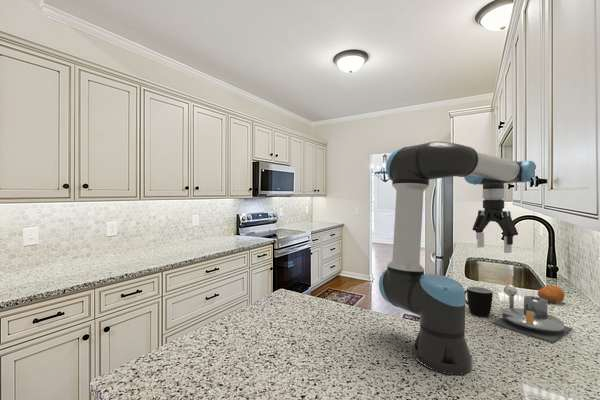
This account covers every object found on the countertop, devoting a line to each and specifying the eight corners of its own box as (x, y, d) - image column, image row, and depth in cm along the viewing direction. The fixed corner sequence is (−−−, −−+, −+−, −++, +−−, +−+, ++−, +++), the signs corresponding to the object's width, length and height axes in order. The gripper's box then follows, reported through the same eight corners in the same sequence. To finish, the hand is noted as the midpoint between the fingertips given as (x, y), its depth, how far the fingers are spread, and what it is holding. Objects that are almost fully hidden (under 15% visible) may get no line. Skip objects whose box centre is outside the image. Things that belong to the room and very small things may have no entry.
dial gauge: (515, 315, 117) (515, 287, 118) (503, 312, 121) (503, 284, 121) (519, 313, 120) (519, 285, 120) (507, 310, 123) (507, 283, 123)
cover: (543, 319, 104) (543, 301, 104) (520, 313, 110) (520, 296, 110) (550, 315, 108) (550, 298, 108) (527, 310, 114) (527, 293, 114)
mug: (497, 316, 116) (497, 291, 116) (482, 319, 113) (482, 293, 113) (470, 306, 127) (470, 283, 127) (455, 309, 124) (455, 285, 124)
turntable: (554, 336, 94) (554, 319, 94) (493, 317, 109) (493, 303, 109) (571, 324, 104) (571, 309, 104) (513, 308, 119) (513, 295, 119)
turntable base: (553, 343, 93) (553, 337, 93) (492, 323, 109) (492, 318, 109) (572, 329, 104) (572, 324, 104) (514, 313, 119) (514, 308, 120)
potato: (571, 304, 132) (571, 288, 132) (552, 306, 129) (552, 289, 129) (549, 298, 141) (549, 282, 141) (531, 299, 138) (531, 284, 138)
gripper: (529, 199, 108) (529, 255, 108) (477, 199, 133) (478, 245, 133) (512, 198, 107) (512, 255, 107) (463, 199, 131) (463, 245, 131)
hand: (493, 249), depth 120 cm, fingers open, 13 cm apart
